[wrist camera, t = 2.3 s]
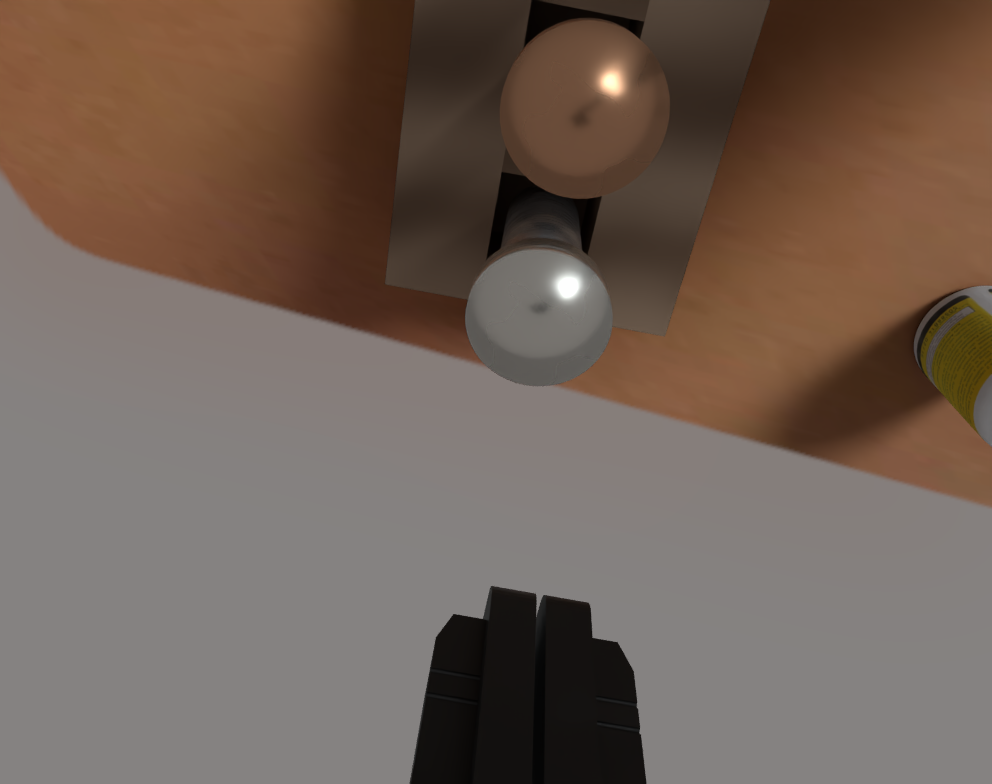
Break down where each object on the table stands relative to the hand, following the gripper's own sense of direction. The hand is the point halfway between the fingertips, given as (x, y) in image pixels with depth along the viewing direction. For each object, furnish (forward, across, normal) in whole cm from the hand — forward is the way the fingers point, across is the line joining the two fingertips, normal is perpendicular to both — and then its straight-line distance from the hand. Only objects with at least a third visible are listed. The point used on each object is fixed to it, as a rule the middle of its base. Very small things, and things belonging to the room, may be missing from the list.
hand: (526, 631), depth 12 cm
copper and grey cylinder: (+22, 0, -6) cm, 23 cm away
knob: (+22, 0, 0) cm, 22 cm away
